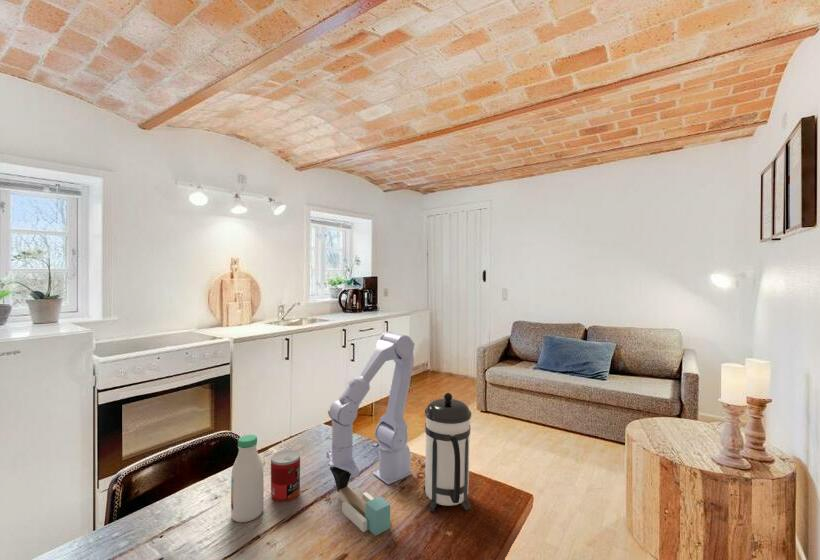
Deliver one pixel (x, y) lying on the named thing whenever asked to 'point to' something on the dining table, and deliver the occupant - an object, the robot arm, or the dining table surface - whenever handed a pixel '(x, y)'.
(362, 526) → the channel
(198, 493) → the dining table surface
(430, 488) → the coffee press
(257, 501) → the milk bottle
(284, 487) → the canned food
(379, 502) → the block
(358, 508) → the rod
